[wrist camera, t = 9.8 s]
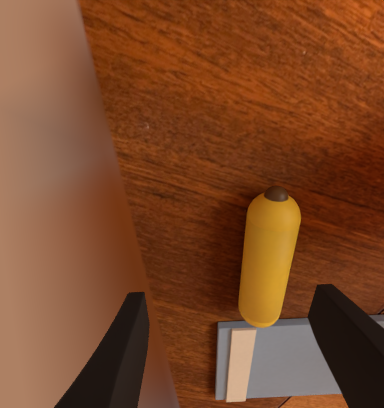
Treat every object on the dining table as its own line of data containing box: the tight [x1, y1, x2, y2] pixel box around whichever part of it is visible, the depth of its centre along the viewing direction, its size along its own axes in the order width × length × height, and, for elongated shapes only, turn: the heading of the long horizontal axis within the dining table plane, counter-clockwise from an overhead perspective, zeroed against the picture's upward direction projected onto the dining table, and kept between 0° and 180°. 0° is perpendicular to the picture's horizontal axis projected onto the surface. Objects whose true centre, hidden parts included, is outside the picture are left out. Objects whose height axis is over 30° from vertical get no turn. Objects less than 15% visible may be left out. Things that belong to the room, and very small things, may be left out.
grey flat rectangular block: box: [215, 315, 384, 402], centre depth 29 cm, size 18×14×1 cm
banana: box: [238, 186, 301, 328], centre depth 20 cm, size 14×4×4 cm, turn 1°
